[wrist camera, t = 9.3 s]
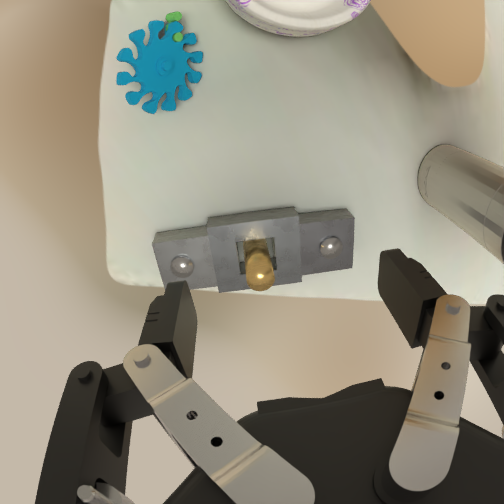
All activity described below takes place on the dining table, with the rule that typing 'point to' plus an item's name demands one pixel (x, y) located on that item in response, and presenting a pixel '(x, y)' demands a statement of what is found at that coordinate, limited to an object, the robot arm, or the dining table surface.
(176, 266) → the grey block with hole
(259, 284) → the pin
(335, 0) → the paper bowls
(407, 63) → the dining table surface
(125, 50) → the gear
